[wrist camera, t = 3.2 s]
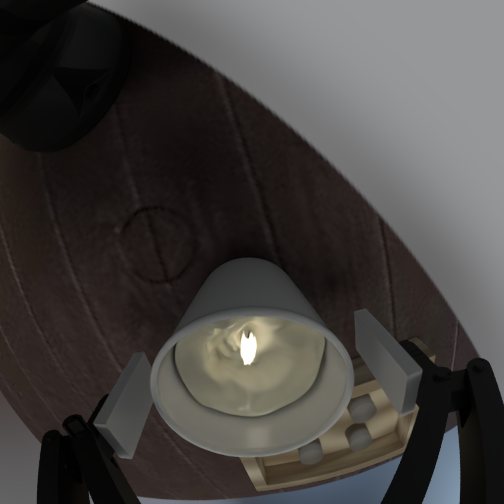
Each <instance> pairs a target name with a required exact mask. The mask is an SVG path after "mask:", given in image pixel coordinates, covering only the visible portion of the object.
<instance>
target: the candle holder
mask: <svg viewBox="0 0 504 504" xmlns="http://www.w3.org/2000/svg"><path fill="white" fill-rule="evenodd" d="M353 388H354V369H353V365H352V361H351V359H350V356H349V354H348V352H347V350H346V349H345V347H344V345H343V344H342V343H341V341H340V340H339V339H338V338H337V337H336V336H335V335H334V334H333V333H332V332H331V331H330V329H329V328H328V327H327V325H326V324H325V323H324V321H323V320H322V319H321V317H320V316H319V315H318V313H317V312H316V311H315V309H314V308H313V307H312V305H311V304H310V303H309V301H308V300H307V299H306V297H305V296H304V295H303V293H302V292H301V291H300V289H299V288H298V287H297V285H296V284H295V283H294V282H293V280H292V279H291V278H290V277H289V276H288V274H287V273H286V272H285V271H283V270H282V269H281V268H280V267H278V266H277V265H275V264H273V263H271V262H269V261H267V260H263V259H259V258H252V257H246V258H238V259H234V260H231V261H228V262H226V263H224V264H222V265H220V266H219V267H217V268H216V269H215V270H214V271H213V272H212V273H211V274H210V275H209V276H208V277H207V278H206V280H205V281H204V283H203V284H202V286H201V287H200V289H199V290H198V292H197V293H196V295H195V297H194V298H193V300H192V301H191V303H190V305H189V306H188V308H187V310H186V311H185V313H184V314H183V316H182V318H181V319H180V321H179V323H178V324H177V326H176V328H175V329H174V331H173V333H172V334H171V336H170V338H169V339H168V340H167V341H166V343H165V344H164V345H163V346H162V348H161V349H160V351H159V353H158V354H157V356H156V358H155V361H154V363H153V366H152V370H151V376H150V389H151V395H152V399H153V402H154V404H155V407H156V409H157V411H158V412H159V414H160V415H161V417H162V418H163V420H164V421H165V422H166V423H167V424H168V425H169V427H170V428H171V429H173V430H174V431H175V432H176V433H177V434H178V435H180V436H181V437H183V438H184V439H186V440H187V441H189V442H191V443H192V444H194V445H196V446H199V447H201V448H203V449H206V450H209V451H212V452H215V453H219V454H223V455H228V456H236V457H264V456H272V455H277V454H281V453H285V452H288V451H292V450H294V449H297V448H300V447H302V446H304V445H306V444H308V443H310V442H312V441H313V440H315V439H317V438H318V437H320V436H321V435H323V434H324V433H325V432H326V431H328V430H329V429H330V428H331V427H332V426H333V425H334V424H335V423H336V422H337V421H338V420H339V418H340V417H341V416H342V414H343V413H344V411H345V410H346V408H347V406H348V404H349V402H350V399H351V396H352V393H353Z"/></svg>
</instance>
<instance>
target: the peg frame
mask: <svg viewBox="0 0 504 504" xmlns="http://www.w3.org/2000/svg"><path fill="white" fill-rule="evenodd" d="M408 341H410V342H413V343H415V344H416V345H417V346H418V347H419V349H421V350H422V351H423V353H425V354H426V356H427V357H428V358H429V359H430V360H431V361H432V362H433V363H434V361H435V356H436V355H435V354H434V353H433V352H432V351H431V350H430V349H429V348H428V347H427V346H426V345H425V344H424V343H423V342H421V341H420V340H419V339H418V338H417V337H414V338H412V339H409V340H408ZM351 361H352V365H353V369H354V388H353V393H352V396H351V399H350V402H349V404H348V406H347V408H346V410H345V411H344V413H343V414H342V416H341V417H340V418H339V420H338V421H337V422H336V423H335V424H334V425H333V426H332V427H331V428H330V429H329V430H328V431H326V432H325V433H324V434H323V435H321V436H320V437H318V438H317V439H315V440H313V441H312V442H310V443H308V444H306V445H304V446H302V447H300V448H297V449H294V450H292V451H288V452H285V453H281V454H277V455H272V456H264V457H240V459H241V461H242V463H243V465H244V467H245V469H246V471H247V473H248V475H249V477H250V479H251V480H252V482H253V484H254V486H255V488H256V490H257V491H265V490H272V489H279V488H285V487H291V486H296V485H301V484H306V483H311V482H315V481H320V480H324V479H328V478H331V477H335V476H339V475H342V474H345V473H349V472H352V471H355V470H358V469H361V468H364V467H367V466H370V465H373V464H375V463H378V462H381V461H383V460H386V459H388V458H391V457H393V456H396V455H398V454H400V453H402V452H404V451H405V449H406V446H407V443H408V441H409V438H410V435H411V432H412V429H413V426H414V423H415V420H416V417H417V413H418V410H419V407H418V406H417V404H416V405H415V410H414V412H412V413H410V414H407V415H405V416H403V417H401V418H400V416H399V415H398V413H397V411H396V410H395V408H394V407H393V405H392V403H391V402H390V400H389V399H388V397H387V396H386V394H385V392H384V391H383V389H382V388H381V386H380V385H379V383H378V382H377V380H376V378H375V377H374V375H373V374H372V372H371V371H370V369H369V368H368V366H367V365H366V363H365V362H364V360H363V359H362V357H358V358H355V359H351Z"/></svg>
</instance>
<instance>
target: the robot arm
mask: <svg viewBox="0 0 504 504" xmlns="http://www.w3.org/2000/svg"><path fill="white" fill-rule="evenodd" d="M86 1H88V0H0V133H1V134H2V135H4V136H5V137H7V138H9V139H10V140H11V141H12V142H13V143H14V144H15V145H17V146H18V147H20V148H22V149H25V150H28V151H36V152H54V151H58V150H60V149H63V148H65V147H68V146H69V145H71V144H73V143H74V142H76V141H77V140H79V139H80V138H82V137H83V136H84V135H85V134H86V133H88V132H89V131H90V130H91V129H92V128H93V127H94V126H95V125H96V124H97V123H98V122H99V120H100V119H101V118H102V117H103V116H104V114H105V113H106V112H107V110H108V109H109V108H110V106H111V105H112V103H113V102H114V100H115V98H116V97H117V95H118V93H119V91H120V89H121V87H122V85H123V83H124V80H125V78H126V75H127V72H128V68H129V64H130V58H131V44H130V39H129V36H128V34H127V32H126V30H125V29H124V28H123V26H122V25H121V24H120V23H119V21H118V20H117V19H116V18H115V17H114V16H112V15H111V14H110V13H108V12H106V11H103V10H99V9H96V8H94V7H91V6H89V5H86V4H83V3H84V2H86ZM354 318H355V337H356V350H357V351H358V353H359V354H360V356H361V357H362V359H363V360H364V362H365V363H366V365H367V366H368V368H369V369H370V371H371V372H372V374H373V375H374V377H375V378H376V380H377V382H378V383H379V385H380V386H381V388H382V389H383V391H384V392H385V394H386V396H387V397H388V399H389V400H390V402H391V403H392V405H393V407H394V408H395V410H396V411H397V413H398V415H399V416H400V418H401V417H403V416H405V415H407V414H410V413H412V412H414V410H415V405H416V404H417V406H418V407H419V410H418V413H417V417H416V420H415V423H414V426H413V429H412V432H411V435H410V438H409V441H408V443H407V446H406V449H405V451H404V454H403V456H402V459H401V461H400V464H399V466H398V468H397V471H396V473H395V475H394V478H393V480H392V482H391V484H390V486H389V488H388V490H387V492H386V494H385V496H384V498H383V500H382V502H381V504H422V502H423V499H424V497H425V494H426V492H427V489H428V486H429V483H430V481H431V478H432V474H433V472H434V469H435V465H436V462H437V459H438V455H439V452H440V448H441V444H442V440H443V436H444V432H445V427H446V422H447V417H448V413H449V412H454V411H456V417H457V425H458V434H459V448H460V477H461V478H460V504H504V404H503V401H502V397H501V394H500V391H499V388H498V385H497V382H496V379H495V376H494V373H493V370H492V368H491V365H490V363H489V362H488V361H487V360H485V359H482V358H475V359H472V360H471V361H469V362H468V364H467V367H466V369H463V370H459V371H454V372H452V371H451V370H450V369H448V368H446V367H437V366H436V365H435V364H434V363H433V362H432V361H431V360H430V359H429V358H428V357H427V356H426V354H425V353H423V351H422V350H421V349H419V347H418V346H417V345H416V344H415V343H413V342H410V341H408V340H404V341H402V342H399V343H398V342H397V341H396V340H395V339H394V338H393V337H392V336H391V335H390V334H389V332H388V331H387V330H386V329H385V328H384V327H383V326H382V325H381V324H380V323H379V322H378V321H377V320H376V319H375V318H374V317H373V316H372V315H371V314H370V313H369V312H368V310H367V309H366V308H365V309H362V310H358V311H355V312H354ZM151 370H152V368H151V366H150V364H149V362H148V359H147V357H146V355H145V353H144V352H139V353H134V354H133V356H132V357H131V359H130V360H129V362H128V364H127V365H126V367H125V369H124V370H123V372H122V374H121V375H120V377H119V379H118V381H117V382H116V384H115V386H114V387H113V389H112V391H111V392H110V394H106V395H105V396H104V397H103V398H102V399H101V400H100V402H99V403H98V405H97V407H96V408H95V411H94V412H93V413H92V415H91V417H90V419H89V420H88V422H87V423H86V422H85V421H84V419H83V418H82V416H81V415H78V414H74V415H71V416H69V417H67V418H66V419H65V420H64V422H63V424H62V427H63V428H64V429H65V431H66V432H67V433H68V436H62V435H61V434H60V432H59V431H57V430H50V431H48V432H47V433H45V435H44V436H43V439H42V445H41V452H40V460H39V470H38V483H37V504H90V500H89V493H90V495H91V498H92V500H93V502H94V504H141V503H140V501H139V500H138V498H137V496H136V495H135V493H134V492H133V490H132V488H131V487H130V485H129V483H128V482H127V480H126V478H125V476H124V474H123V473H122V471H121V469H120V467H119V465H118V463H117V461H116V460H115V458H114V457H113V454H114V451H115V452H116V453H117V455H118V456H119V457H120V458H128V459H132V458H133V455H134V452H135V449H136V446H137V444H138V441H139V438H140V435H141V433H142V430H143V427H144V424H145V422H146V419H147V416H148V414H149V411H150V408H151V406H152V403H153V399H152V395H151V389H150V376H151Z"/></svg>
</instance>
